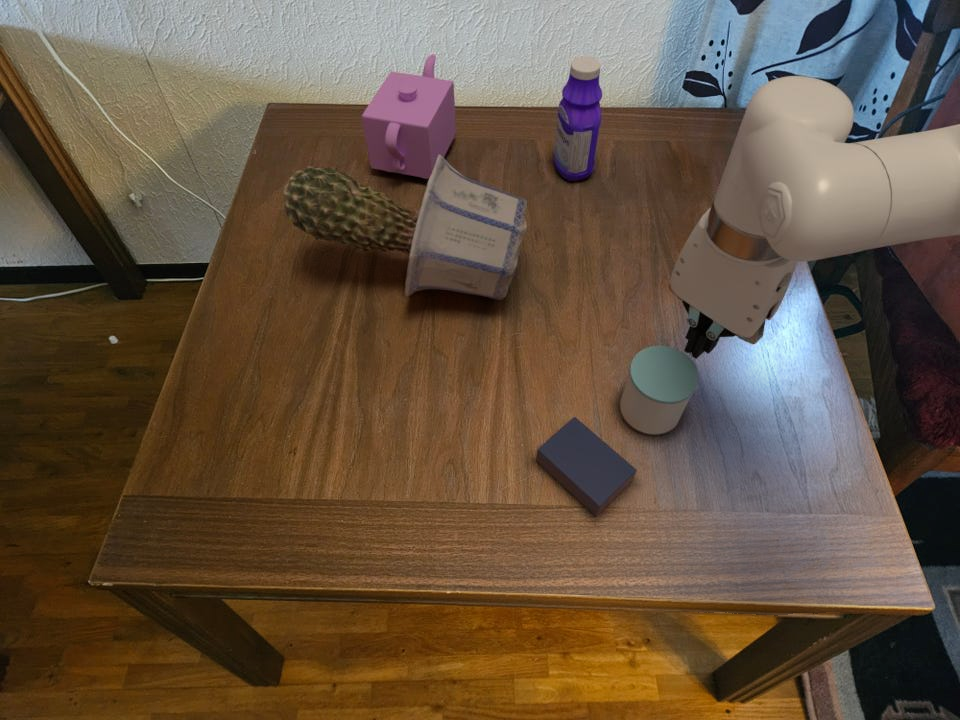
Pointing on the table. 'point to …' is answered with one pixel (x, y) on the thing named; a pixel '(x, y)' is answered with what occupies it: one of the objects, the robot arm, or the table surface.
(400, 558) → the table surface
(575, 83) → the bottle
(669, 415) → the beige cylinder teal cap
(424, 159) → the teapot
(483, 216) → the potted plant
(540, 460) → the dark rectangular block
